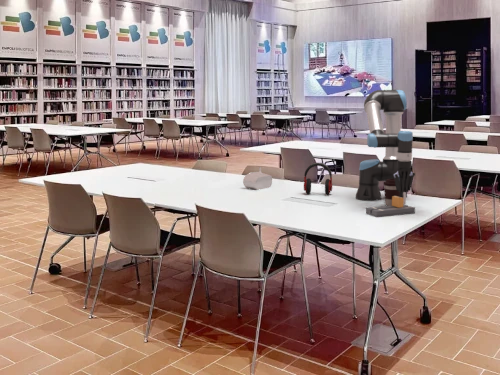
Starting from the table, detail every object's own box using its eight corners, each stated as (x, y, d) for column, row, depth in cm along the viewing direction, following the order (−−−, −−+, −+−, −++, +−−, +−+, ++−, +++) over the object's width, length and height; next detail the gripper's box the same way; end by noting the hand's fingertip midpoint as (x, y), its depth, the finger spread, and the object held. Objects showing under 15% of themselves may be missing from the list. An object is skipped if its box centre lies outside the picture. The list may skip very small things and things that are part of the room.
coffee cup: (392, 208, 337) (393, 181, 334) (379, 205, 345) (380, 179, 342) (404, 205, 343) (405, 179, 340) (391, 203, 350) (391, 177, 348)
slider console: (365, 213, 323) (366, 207, 323) (403, 209, 332) (403, 204, 332) (376, 217, 314) (376, 211, 314) (414, 213, 323) (414, 207, 323)
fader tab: (391, 209, 327) (392, 196, 326) (396, 208, 328) (396, 195, 327) (398, 211, 321) (398, 198, 320) (403, 210, 323) (403, 197, 321)
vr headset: (260, 185, 417) (260, 164, 414) (273, 187, 409) (273, 166, 407) (242, 188, 403) (242, 167, 401) (255, 190, 396) (255, 168, 393)
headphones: (332, 193, 384) (332, 162, 380) (331, 196, 374) (331, 164, 371) (304, 192, 387) (305, 161, 384) (303, 195, 378) (303, 163, 374)
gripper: (398, 161, 316) (397, 206, 320) (419, 160, 321) (417, 204, 325) (390, 160, 323) (388, 203, 326) (410, 158, 327) (408, 201, 331)
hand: (402, 203), depth 326 cm, fingers closed
